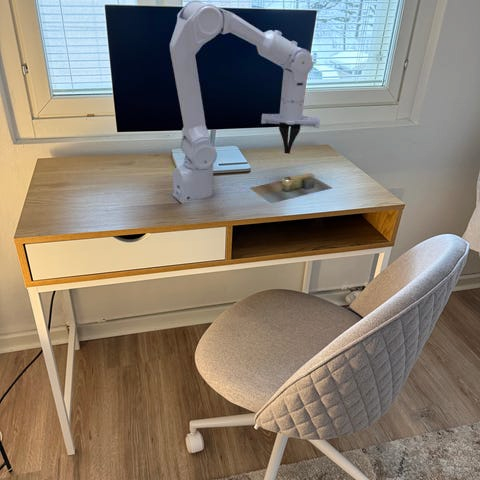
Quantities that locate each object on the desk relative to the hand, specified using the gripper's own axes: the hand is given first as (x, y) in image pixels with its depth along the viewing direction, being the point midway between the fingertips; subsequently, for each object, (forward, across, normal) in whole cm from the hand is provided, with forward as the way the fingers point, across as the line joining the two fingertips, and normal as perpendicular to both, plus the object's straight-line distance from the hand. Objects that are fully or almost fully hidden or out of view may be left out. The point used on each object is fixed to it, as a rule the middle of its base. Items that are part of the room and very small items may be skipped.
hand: (287, 152), depth 121 cm
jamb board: (+9, +2, -4) cm, 10 cm away
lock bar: (+8, +4, -4) cm, 9 cm away
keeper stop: (+8, +6, -3) cm, 11 cm away
